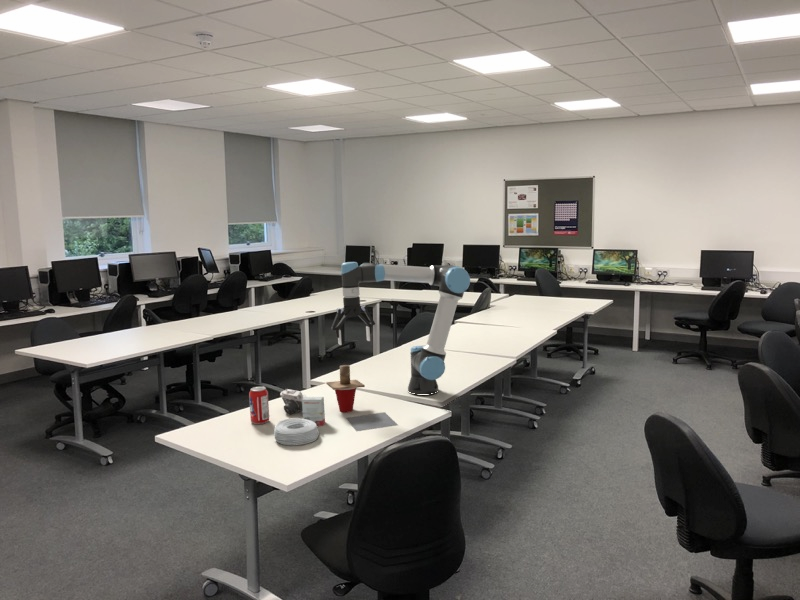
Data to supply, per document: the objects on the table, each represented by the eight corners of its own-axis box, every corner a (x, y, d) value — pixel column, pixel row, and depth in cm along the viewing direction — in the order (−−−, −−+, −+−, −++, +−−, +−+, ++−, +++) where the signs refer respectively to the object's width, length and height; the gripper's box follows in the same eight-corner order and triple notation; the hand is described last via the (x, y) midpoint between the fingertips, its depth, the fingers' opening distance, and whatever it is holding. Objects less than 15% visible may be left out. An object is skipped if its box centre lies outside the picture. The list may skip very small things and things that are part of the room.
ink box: (325, 423, 255) (324, 396, 254) (323, 426, 251) (321, 399, 249) (305, 422, 256) (304, 396, 255) (303, 426, 252) (301, 399, 250)
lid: (356, 381, 278) (355, 362, 277) (364, 386, 264) (364, 367, 264) (326, 383, 273) (325, 364, 272) (333, 389, 260) (332, 369, 259)
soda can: (266, 425, 255) (264, 390, 252) (248, 425, 255) (246, 391, 253) (271, 418, 262) (269, 385, 260) (253, 419, 263) (251, 385, 261)
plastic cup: (359, 407, 275) (358, 381, 274) (357, 414, 265) (356, 388, 263) (335, 407, 276) (334, 382, 274) (332, 415, 265) (331, 389, 263)
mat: (384, 413, 266) (384, 412, 266) (398, 426, 249) (398, 425, 249) (345, 418, 260) (345, 417, 260) (356, 432, 243) (356, 431, 243)
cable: (280, 431, 248) (279, 417, 247) (322, 430, 247) (321, 416, 246) (269, 447, 230) (268, 432, 230) (314, 446, 230) (313, 431, 229)
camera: (292, 402, 281) (283, 385, 276) (314, 407, 270) (306, 389, 266) (278, 415, 275) (269, 397, 270) (301, 421, 264) (291, 402, 260)
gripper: (326, 300, 262) (330, 347, 265) (380, 294, 271) (382, 340, 274) (322, 298, 269) (325, 344, 272) (374, 292, 278) (377, 337, 281)
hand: (354, 342), depth 273 cm, fingers open, 13 cm apart
